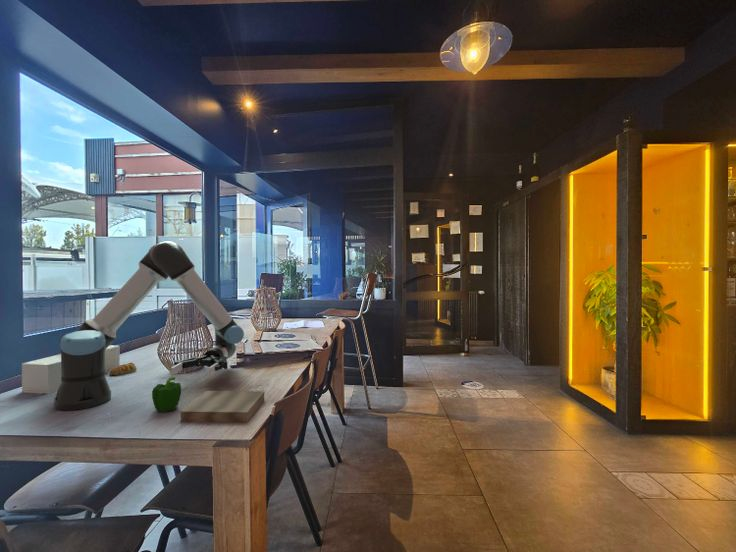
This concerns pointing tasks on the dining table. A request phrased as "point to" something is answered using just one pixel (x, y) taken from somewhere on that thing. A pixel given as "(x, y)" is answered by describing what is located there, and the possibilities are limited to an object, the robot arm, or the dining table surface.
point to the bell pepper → (166, 395)
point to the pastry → (124, 369)
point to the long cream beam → (57, 371)
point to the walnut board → (223, 406)
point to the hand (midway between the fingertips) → (191, 371)
